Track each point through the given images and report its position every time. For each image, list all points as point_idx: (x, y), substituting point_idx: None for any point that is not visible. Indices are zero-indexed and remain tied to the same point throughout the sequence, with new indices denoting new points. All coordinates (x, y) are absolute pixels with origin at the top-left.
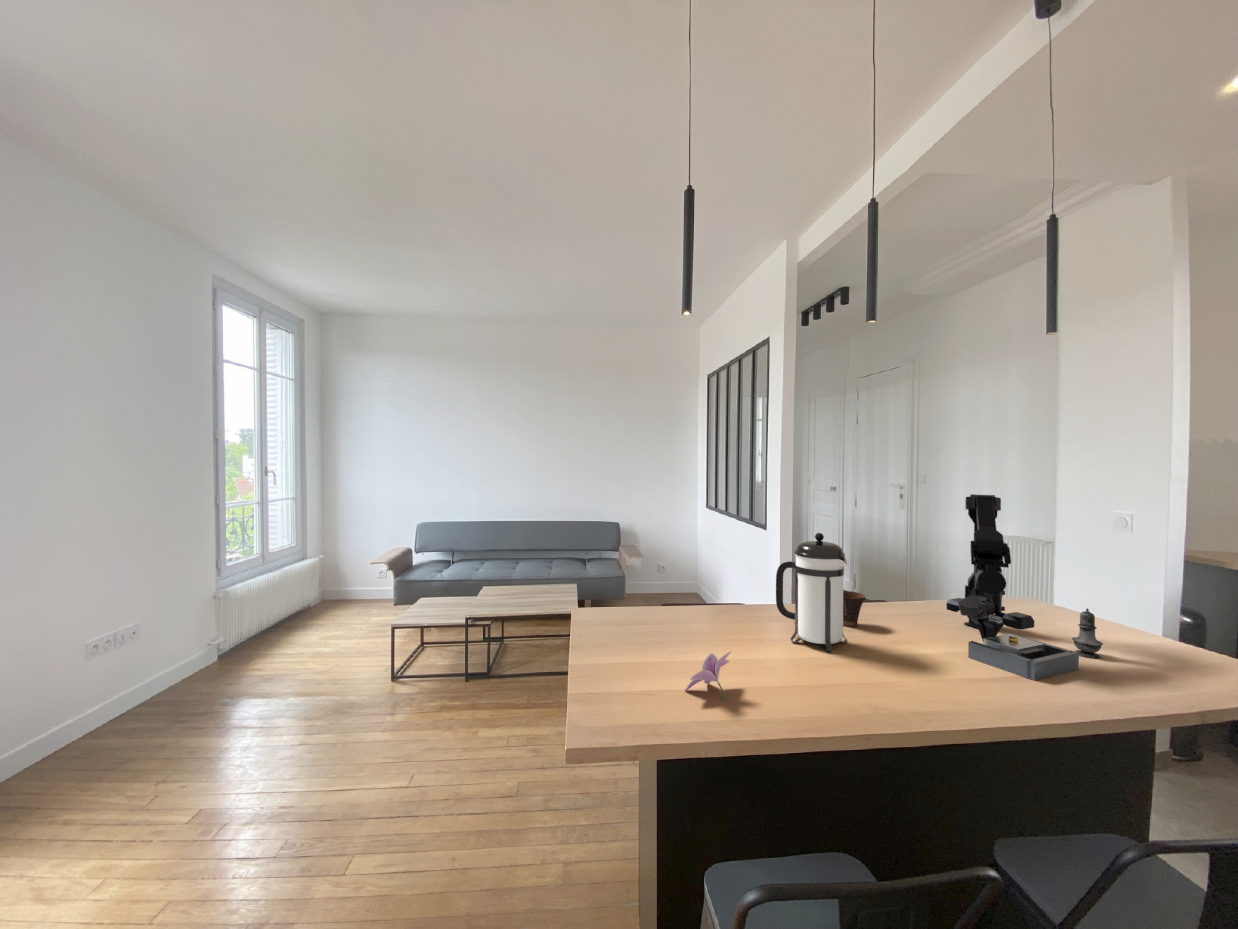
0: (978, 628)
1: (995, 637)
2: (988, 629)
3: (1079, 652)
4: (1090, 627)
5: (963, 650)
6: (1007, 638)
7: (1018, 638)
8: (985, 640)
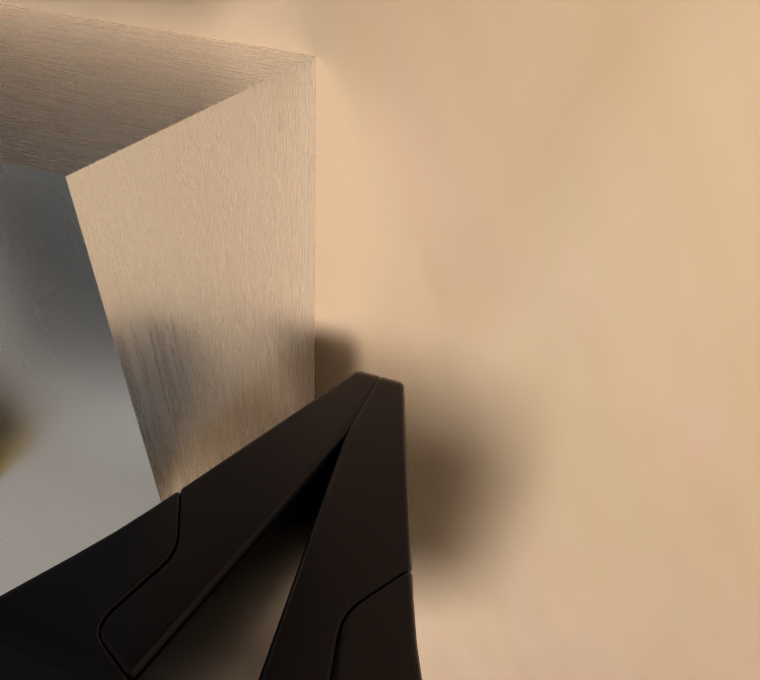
0: (398, 669)
1: (115, 468)
2: (84, 618)
3: None
4: None
5: (700, 110)
6: (56, 526)
7: None
8: (46, 150)
